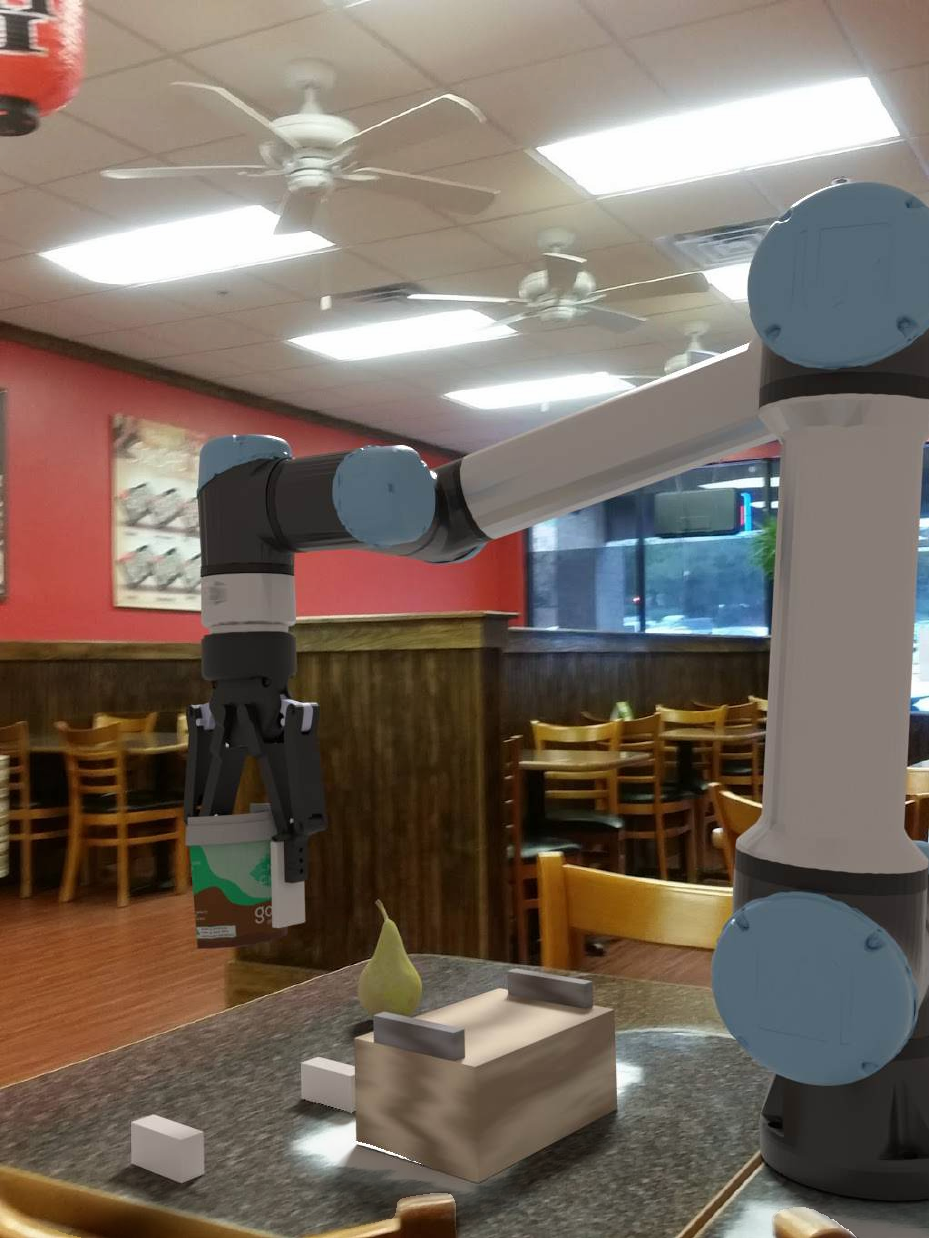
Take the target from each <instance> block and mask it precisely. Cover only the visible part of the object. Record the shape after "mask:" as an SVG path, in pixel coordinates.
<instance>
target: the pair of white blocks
mask: <svg viewBox="0 0 929 1238" xmlns="http://www.w3.org/2000/svg"><path fill="white" fill-rule="evenodd" d="M300 1078H301V1080H300V1081H301V1082H300V1084H301V1086H300V1087H301V1089H300V1090H301V1092H300V1093H301V1099H302V1100H304V1099H305V1101H308V1102H312V1103H315V1102H316V1103H315V1104H318V1103H321V1104H324V1105H323V1106H325V1105H327V1106H326V1107H328V1106H331V1107H334V1108H333V1109H335V1108H337V1109H336V1110H338V1109H341V1110H340V1111H342V1110H344V1111H343V1112H345V1111H348V1112H353V1111H355V1110H356V1108H355V1065H351V1064H347V1063H343V1062H340V1061H335V1060H333V1059H328V1058H324V1057H320V1056H317V1057H314V1058H311V1059H308V1060H304V1061H303V1062H300ZM321 1104H320V1105H321ZM331 1107H330V1108H331ZM348 1112H347V1113H348ZM130 1133H131V1134H130V1138H131V1139H130V1140H131V1142H130V1146H131V1147H130V1148H131V1149H130V1151H131V1157H130V1158H131V1160H130V1161H131V1162H130V1163H131V1164H132V1165H134V1166H137V1167H140V1168H142V1169H144V1170H147V1171H150V1172H153V1173H154V1174H157V1175H160V1176H162V1177H164V1178H166V1179H170V1180H172V1181H175V1182H176V1183H180V1184H183V1183H186V1182H188V1181H191V1180H193V1179H195V1178H198V1177H200V1176H203V1175H205V1138H204V1137H205V1134H204V1131H203V1130H200V1129H196V1128H193V1127H191V1126H188V1125H185V1124H182V1123H180V1122H178V1121H174V1120H171V1119H168V1118H165V1117H162V1116H159V1115H156V1114H153V1113H152V1114H151V1115H148V1116H144V1117H142V1118H139V1119H137V1120H133V1121H131V1122H130Z"/></svg>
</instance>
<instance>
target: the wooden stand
mask: <svg viewBox="0 0 929 1238" xmlns="http://www.w3.org/2000/svg"><path fill="white" fill-rule="evenodd" d="M506 975H507V978H506V979H507V989H506V988H502V987H498V988H495V989H493V990H490V991H487V992H484V993H481V994H478V995H474V996H473V997H468V998H467V999H464V1000H460V1001H457V1002H454V1003H452V1004H449V1005H446V1006H443V1007H441V1008H437V1009H435V1010H432V1011H428V1012H425V1013H423V1014H422V1013H421V1014H420V1015H417V1016H413V1017H412V1016H411V1017H406V1016H402V1015H397V1014H392V1013H388V1012H382V1013H379V1014H376V1015H373V1019H372V1022H373V1023H372V1024H373V1026H372V1027H373V1031H371V1032H368V1033H365V1034H362V1035H359V1036H356V1037H354V1039H353V1044H354V1045H353V1050H354V1066H355V1108H356V1112H355V1142H356V1141H358V1142H362V1143H366V1144H370V1145H373V1146H376V1147H378V1148H381V1149H384V1150H386V1151H390V1152H393V1153H395V1154H398V1155H401V1156H403V1157H406V1158H407V1159H409V1160H411V1161H416V1162H418V1163H421V1164H423V1165H426V1166H428V1167H427V1168H429V1167H430V1169H432V1168H433V1170H436V1171H438V1172H439V1171H440V1172H442V1173H444V1174H445V1173H446V1174H448V1175H451V1176H454V1177H458V1178H460V1179H464V1180H467V1181H470V1182H473V1183H477V1184H479V1183H481V1182H483V1181H485V1180H486V1179H489V1178H490V1177H493V1176H494V1175H496V1174H498V1173H500V1172H502V1171H503V1170H505V1169H507V1168H509V1167H511V1166H513V1165H516V1164H517V1163H519V1162H521V1161H522V1160H525V1159H526V1158H528V1157H530V1156H532V1155H533V1154H536V1153H537V1152H539V1151H541V1150H543V1149H544V1148H547V1147H549V1146H550V1145H553V1144H554V1143H556V1142H558V1141H560V1140H562V1139H563V1138H565V1137H567V1136H569V1135H571V1134H573V1133H574V1132H576V1131H579V1130H580V1129H583V1128H584V1127H586V1126H588V1125H590V1124H592V1123H593V1122H595V1121H598V1120H599V1119H601V1118H603V1117H605V1116H607V1115H609V1114H610V1113H612V1112H615V1111H616V1110H617V1109H618V1086H617V1085H618V1084H617V1080H618V1079H617V1052H616V1045H617V1044H616V1021H615V1020H616V1018H615V1015H616V1014H615V1009H614V1008H610V1007H605V1006H604V1007H603V1006H599V1005H594V989H593V987H594V985H593V984H594V983H593V980H587V979H581V978H574V977H569V976H565V975H564V976H563V975H557V974H551V973H544V972H540V971H534V970H533V971H532V970H527V969H521V968H512V969H509V970H507V972H506ZM423 1165H422V1166H423ZM426 1166H425V1167H426Z"/></svg>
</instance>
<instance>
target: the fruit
mask: <svg viewBox="0 0 929 1238" xmlns="http://www.w3.org/2000/svg"><path fill="white" fill-rule="evenodd" d="M375 905H376V906H377V907H378V908H379V910H380V912H381V913H382V916H383V919H384V922H383V925H382V927H381V932H380V934H379V938H378V941H377V945H376V947H375V950H374V952H373V955H372V956H371V958H370V960H369V962H368V963H367V964H366V965H365V967H364V968H363V970H362V971H361V973H360V975H359V980H358V984H357V985H358V987H357V988H358V989H357V992H358V993H357V994H358V995H357V997H358V1000H359V1003H360V1005H361V1007H362V1009H363V1010H364V1011H365V1012H366V1013H367V1014H368V1015H370V1016H371V1017H373V1015H376V1014H379V1013H382V1012H388V1013H392V1014H397V1015H402V1016H406V1017H411V1018H412V1016H413V1015H414V1013H415V1012H416V1010H417V1009H418V1008H419V1005H420V1003H421V1000H422V999H421V998H422V993H423V986H422V985H423V984H422V980H421V977H420V974H419V972H418V971H417V970H416V968H415V966H414V964H413V963H412V961H411V960H410V959H409V957H408V955H407V953H406V950H405V946H404V944H403V940H402V937H401V935H400V932H399V929H398V927H397V925H396V923H395V921H393V920H391V919H389V916H388V914H387V912H386V909H385V908H384V904H383V903H382V901H381V900H380V899H377V900H376V901H375Z"/></svg>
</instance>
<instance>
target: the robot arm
mask: <svg viewBox="0 0 929 1238" xmlns="http://www.w3.org/2000/svg"><path fill="white" fill-rule="evenodd" d="M748 271H749V272H748V276H747V282H746V283H747V289H746V290H747V291H746V292H747V301H748V302H747V303H748V306H749V307H748V308H749V311H750V312H749V316H750V320H751V323H752V325H753V327H754V330H755V333H754V335H753V336H752V339H751V340H750V341H749V342H748V343H747V344H744V345H741V346H739V347H736V348H734V349H731V350H729V351H727V352H724V353H722V354H719V355H717V356H714V357H711V358H709V359H706V360H704V361H701V362H699V363H695V364H693V365H690V366H689V367H686V368H684V369H681V370H678V371H676V372H673V373H671V374H668V375H665V376H664V377H661V378H658V379H656V380H653V381H651V382H648V383H645V384H643V385H641V386H638V387H635V388H633V389H630V390H628V391H626V392H623V393H621V394H618V395H616V396H613V397H611V398H608V399H606V400H604V401H601V402H597V403H595V404H593V405H591V406H588V407H585V408H583V409H579V410H578V411H575V412H572V413H570V414H567V415H565V416H562V417H560V418H557V419H555V420H552V421H550V422H547V423H545V424H542V425H540V426H537V427H535V428H532V429H530V430H527V431H524V432H523V433H520V434H517V435H515V436H513V437H510V438H507V439H504V440H502V441H500V442H497V443H494V444H492V445H490V446H487V447H483V448H482V449H479V450H476V451H475V452H471V453H469V454H467V455H465V456H463V457H461V458H458V459H455V460H452V461H450V462H447V463H444V464H442V465H440V466H437V467H435V468H431V469H430V468H429V466H428V464H427V463H426V462H425V461H423V460H422V458H421V455H420V454H419V452H418V451H416V450H415V449H413V448H412V447H410V446H407V445H400V444H399V445H397V444H396V445H386V446H385V445H384V446H379V445H375V444H372V445H364V446H363V447H357V448H355V449H348V450H342V451H335V452H334V451H333V452H327V453H321V454H315V455H314V454H313V455H307V456H300V457H293V453H292V452H293V450H292V447H291V446H290V444H289V443H288V442H287V441H286V440H285V439H283V438H280V437H277V436H274V435H273V436H272V435H267V434H256V433H255V434H254V433H253V434H252V433H249V434H248V433H247V434H244V435H243V434H241V435H239V434H229V435H222V436H217V437H214V438H212V439H210V440H208V441H207V442H205V443H204V445H203V446H202V447H201V449H200V452H199V461H198V463H199V464H198V476H197V477H198V478H197V479H198V483H197V489H196V490H195V491H196V495H195V496H196V499H197V509H198V510H197V511H198V528H199V542H200V543H199V544H200V545H199V546H200V547H199V548H200V564H201V565H200V570H199V571H200V574H199V575H200V613H201V614H200V618H201V619H200V620H201V622H200V625H201V626H202V627H204V628H205V629H209V633H208V634H204V635H203V638H201V639H200V644H201V645H200V647H201V651H200V653H201V655H200V656H201V675H202V678H203V679H204V680H205V681H208V682H211V685H212V686H211V687H212V690H211V693H210V697H209V700H208V702H207V703H204V704H196V705H194V704H190V705H187V706H186V708H185V718H186V719H185V720H186V726H187V732H188V733H187V734H188V736H187V740H188V741H187V753H186V767H185V780H184V781H185V782H184V783H185V784H184V797H183V811H182V812H183V813H182V814H183V815H182V820H183V822H184V823H185V825H186V826H188V817H208V816H225V815H233V813H234V812H233V811H234V809H235V805H236V800H237V795H238V791H239V787H240V784H241V779H242V775H243V770H244V766H245V761H246V758H247V757H248V756H249V755H250V756H251V758H253V759H254V760H256V761H257V764H258V769H259V771H260V774H261V779H262V782H263V786H264V789H265V793H266V796H267V800H268V804H270V808H271V811H272V815H273V818H274V822H275V826H276V829H277V833H278V834H276V835H274V836H273V837H271V838H272V840H273V841H271V887H272V927H274V928H282V927H286V926H287V927H289V926H293V925H299V924H303V923H306V900H305V897H306V896H305V893H306V892H305V882H306V881H307V880H308V876H309V856H308V855H309V854H308V853H309V851H308V850H309V849H308V846H309V845H308V843H309V842H308V841H309V838H310V836H312V835H314V834H317V833H318V832H323V831H326V830H327V828H328V826H329V822H328V821H329V820H328V811H327V803H326V795H325V786H324V779H323V777H324V776H323V770H322V769H323V768H322V761H321V753H320V745H319V735H318V731H319V725H320V724H319V721H320V714H321V707H320V705H319V704H318V703H317V702H300V701H296V700H294V698H293V695H292V692H291V690H290V687H289V686H290V685H289V683H290V682H289V681H290V679H292V678H294V677H295V676H296V674H297V671H298V668H297V665H298V664H297V662H298V661H297V660H298V659H297V658H298V657H297V637H296V636H294V633H292V632H289V627H293V626H295V625H296V623H297V610H296V607H297V605H296V583H295V582H296V581H295V567H296V566H295V564H296V563H295V553H296V554H303V553H310V552H322V551H323V552H326V551H327V552H328V551H340V550H357V551H364V552H370V553H376V554H381V555H382V554H383V555H387V556H397V557H402V558H406V559H407V558H408V559H413V560H420V561H423V562H425V563H429V564H433V565H448V564H460V563H463V562H466V561H469V560H471V559H472V558H475V557H476V556H477V555H478V554H479V553H480V552H481V551H482V550H483V549H484V547H486V545H487V544H488V543H489V542H491V541H494V540H496V539H497V540H498V539H500V538H502V537H505V536H508V535H511V534H514V533H517V532H519V531H523V530H525V529H527V528H531V527H533V526H536V525H539V524H542V523H544V522H547V521H550V520H554V519H557V518H558V517H562V516H564V515H567V514H570V513H574V512H576V511H579V510H581V509H584V508H588V507H589V506H593V505H595V504H599V503H601V502H603V501H604V502H605V501H607V500H609V499H613V498H615V497H618V496H620V495H624V494H626V493H630V492H632V491H635V490H638V489H641V488H644V487H646V486H649V485H652V484H655V483H657V482H660V481H663V480H667V479H669V478H672V477H675V476H677V475H679V474H683V473H686V472H689V471H691V470H693V469H697V468H699V467H702V466H703V467H704V466H705V465H708V464H710V463H714V462H717V461H719V460H721V459H725V458H728V457H731V456H733V455H736V454H740V453H742V452H744V451H748V450H750V449H753V448H755V447H759V446H762V445H764V444H768V443H770V442H773V441H775V440H778V442H779V444H780V459H779V460H780V461H779V480H778V481H779V483H778V497H777V499H778V500H777V501H778V503H777V517H776V518H777V519H776V535H775V536H776V537H775V555H774V556H775V557H774V559H775V560H774V575H773V577H774V578H773V593H772V612H771V613H772V616H771V632H770V633H771V634H770V650H769V651H770V652H769V670H768V686H767V687H768V689H767V690H768V691H767V708H766V709H767V710H766V711H767V712H766V727H765V728H766V729H765V742H764V743H765V746H764V762H763V763H764V765H763V781H762V801H761V802H762V803H761V804H762V806H761V815H760V816H759V818H758V820H757V821H756V822H755V823H754V824H753V825H752V826H750V827H749V828H748V829H747V830H746V831H744V832H742V834H741V835H739V836H738V837H737V838H736V841H735V853H734V870H733V883H732V884H733V887H732V898H731V899H732V900H731V916H730V918H729V919H727V921H725V923H724V924H723V926H722V929H721V933H720V935H719V936H718V937H717V938H716V946H715V948H714V951H713V955H712V959H711V968H710V981H711V990H712V995H713V999H714V1004H715V1006H716V1008H717V1011H718V1014H719V1016H720V1018H721V1021H722V1022H723V1024H724V1026H725V1027H726V1029H727V1031H728V1032H729V1034H730V1035H731V1037H733V1038H734V1039H735V1040H736V1042H737V1043H738V1045H739V1046H740V1047H741V1048H742V1049H743V1050H744V1051H745V1052H746V1054H747V1055H748V1056H749V1057H751V1058H752V1059H753V1060H755V1061H756V1062H757V1063H758V1064H760V1065H761V1066H762V1067H764V1068H766V1069H767V1070H769V1071H770V1072H772V1074H771V1077H770V1081H769V1084H768V1087H767V1090H766V1094H765V1097H764V1099H763V1100H764V1101H763V1104H762V1108H761V1110H760V1115H759V1122H758V1126H759V1127H758V1129H759V1150H760V1155H761V1157H762V1158H763V1160H764V1161H765V1162H766V1164H767V1163H768V1164H767V1165H769V1166H770V1168H772V1169H773V1170H774V1171H776V1172H777V1171H778V1173H779V1174H781V1173H782V1174H783V1175H782V1174H781V1175H782V1176H784V1177H786V1176H787V1179H790V1180H792V1181H794V1182H797V1183H799V1184H802V1185H804V1186H806V1187H811V1188H814V1189H816V1190H821V1191H823V1192H827V1193H831V1194H836V1195H841V1196H846V1197H852V1198H860V1199H867V1198H868V1199H867V1200H879V1201H880V1200H881V1201H918V1200H920V1201H921V1200H929V842H926V841H923V840H913V839H912V838H910V836H909V835H908V833H907V831H906V829H905V817H906V816H905V815H906V813H905V812H906V800H907V799H906V797H907V796H906V794H907V777H908V776H907V774H908V773H907V772H908V759H909V758H908V754H909V740H910V739H909V737H910V736H909V735H910V720H911V719H910V717H911V698H912V697H911V696H912V680H913V678H912V677H913V662H914V661H913V659H914V658H913V657H914V641H915V640H914V639H915V638H914V637H915V623H916V622H915V619H916V616H915V615H916V602H917V601H916V599H917V582H918V581H917V580H918V576H917V575H918V561H919V543H920V542H919V541H920V540H919V539H920V525H921V522H920V521H921V506H922V505H921V504H922V503H921V502H922V501H921V500H922V484H923V483H922V482H923V464H924V463H923V462H924V460H923V459H924V446H925V445H926V443H927V442H928V440H929V206H927V205H926V203H925V202H923V201H922V199H920V198H918V196H915V195H914V194H912V193H911V192H908V190H906V189H905V190H904V189H903V188H899V187H897V186H895V185H891V184H889V183H888V184H887V183H883V182H877V181H876V182H875V181H852V182H851V181H850V182H843V183H838V184H835V185H831V186H828V187H825V188H822V189H819V190H818V191H814V192H813V193H811V194H809V195H807V196H805V197H804V198H802V199H800V200H799V201H797V202H795V203H794V204H792V206H790V208H789V209H787V210H786V211H785V212H784V213H783V214H782V215H781V216H780V217H779V218H778V219H777V220H776V221H774V222H773V223H772V224H771V226H770V227H769V228H768V230H767V231H766V232H765V234H764V235H763V237H762V238H761V240H760V241H759V243H758V245H757V247H756V250H755V252H754V254H753V257H752V259H751V262H750V266H749V270H748ZM198 807H200V808H198ZM291 819H293V822H292V823H290V820H291Z"/></svg>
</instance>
